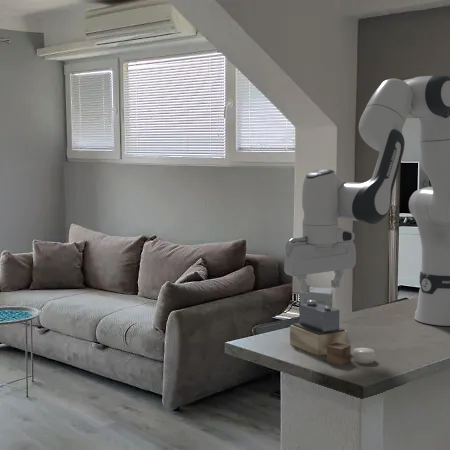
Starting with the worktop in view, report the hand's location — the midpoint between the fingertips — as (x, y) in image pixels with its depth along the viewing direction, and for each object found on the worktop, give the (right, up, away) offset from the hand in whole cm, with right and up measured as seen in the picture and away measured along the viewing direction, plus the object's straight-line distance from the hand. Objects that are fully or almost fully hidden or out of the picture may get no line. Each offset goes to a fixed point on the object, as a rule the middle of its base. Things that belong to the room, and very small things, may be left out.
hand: (320, 289), depth 175 cm
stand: (0, -15, +1) cm, 15 cm away
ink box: (+1, -13, +17) cm, 22 cm away
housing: (0, -9, +1) cm, 10 cm away
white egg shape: (+9, -16, -9) cm, 21 cm away
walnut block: (+3, -16, -10) cm, 19 cm away
